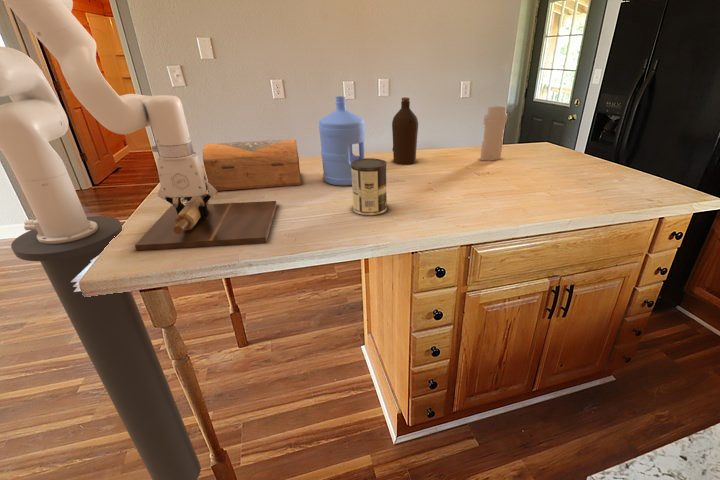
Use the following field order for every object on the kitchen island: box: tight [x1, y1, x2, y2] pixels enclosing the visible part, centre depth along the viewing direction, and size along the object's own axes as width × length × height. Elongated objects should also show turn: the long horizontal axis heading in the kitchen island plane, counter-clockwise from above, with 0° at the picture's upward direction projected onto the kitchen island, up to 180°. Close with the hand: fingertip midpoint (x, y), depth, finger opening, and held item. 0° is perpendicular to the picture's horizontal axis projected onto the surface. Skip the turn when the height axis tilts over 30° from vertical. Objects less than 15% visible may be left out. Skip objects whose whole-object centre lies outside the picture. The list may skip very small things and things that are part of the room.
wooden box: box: [202, 139, 302, 192], centre depth 137 cm, size 30×16×14 cm, turn 105°
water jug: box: [318, 95, 366, 187], centre depth 136 cm, size 16×16×28 cm
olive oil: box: [391, 97, 419, 165], centre depth 160 cm, size 11×11×25 cm
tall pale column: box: [479, 104, 508, 161], centre depth 165 cm, size 11×4×22 cm, turn 106°
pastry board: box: [134, 200, 278, 252], centre depth 107 cm, size 30×26×2 cm
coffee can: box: [351, 157, 388, 216], centre depth 115 cm, size 10×10×14 cm
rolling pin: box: [173, 192, 210, 234], centre depth 104 cm, size 4×24×4 cm, turn 10°
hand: (194, 218), depth 105 cm, fingers closed on rolling pin, 4 cm apart
